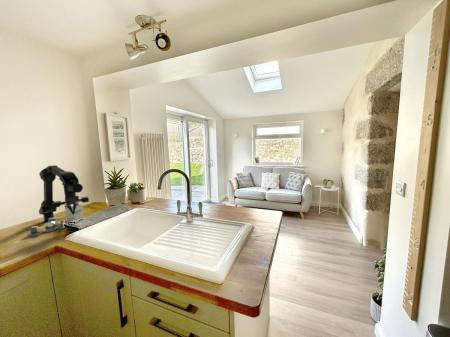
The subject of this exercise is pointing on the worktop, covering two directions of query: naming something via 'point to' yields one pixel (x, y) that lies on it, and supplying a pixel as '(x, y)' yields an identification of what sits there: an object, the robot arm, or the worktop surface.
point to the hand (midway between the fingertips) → (73, 214)
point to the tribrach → (48, 228)
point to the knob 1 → (36, 229)
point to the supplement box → (77, 214)
